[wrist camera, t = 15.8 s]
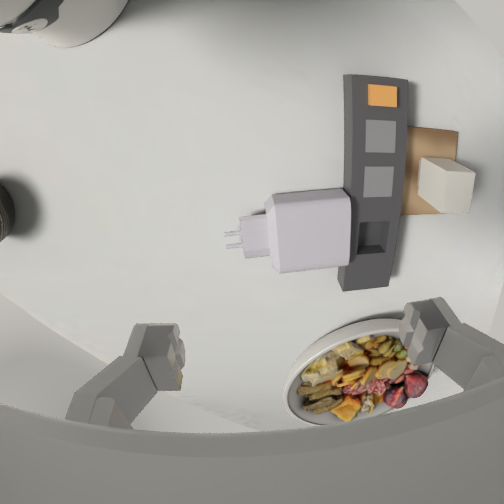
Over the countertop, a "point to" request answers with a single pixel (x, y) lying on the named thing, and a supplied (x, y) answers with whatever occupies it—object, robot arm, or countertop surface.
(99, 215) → the countertop surface
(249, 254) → the charger
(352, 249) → the power strip
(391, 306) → the countertop surface
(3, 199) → the jar
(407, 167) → the cork mat
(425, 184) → the charger
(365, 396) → the bowl
